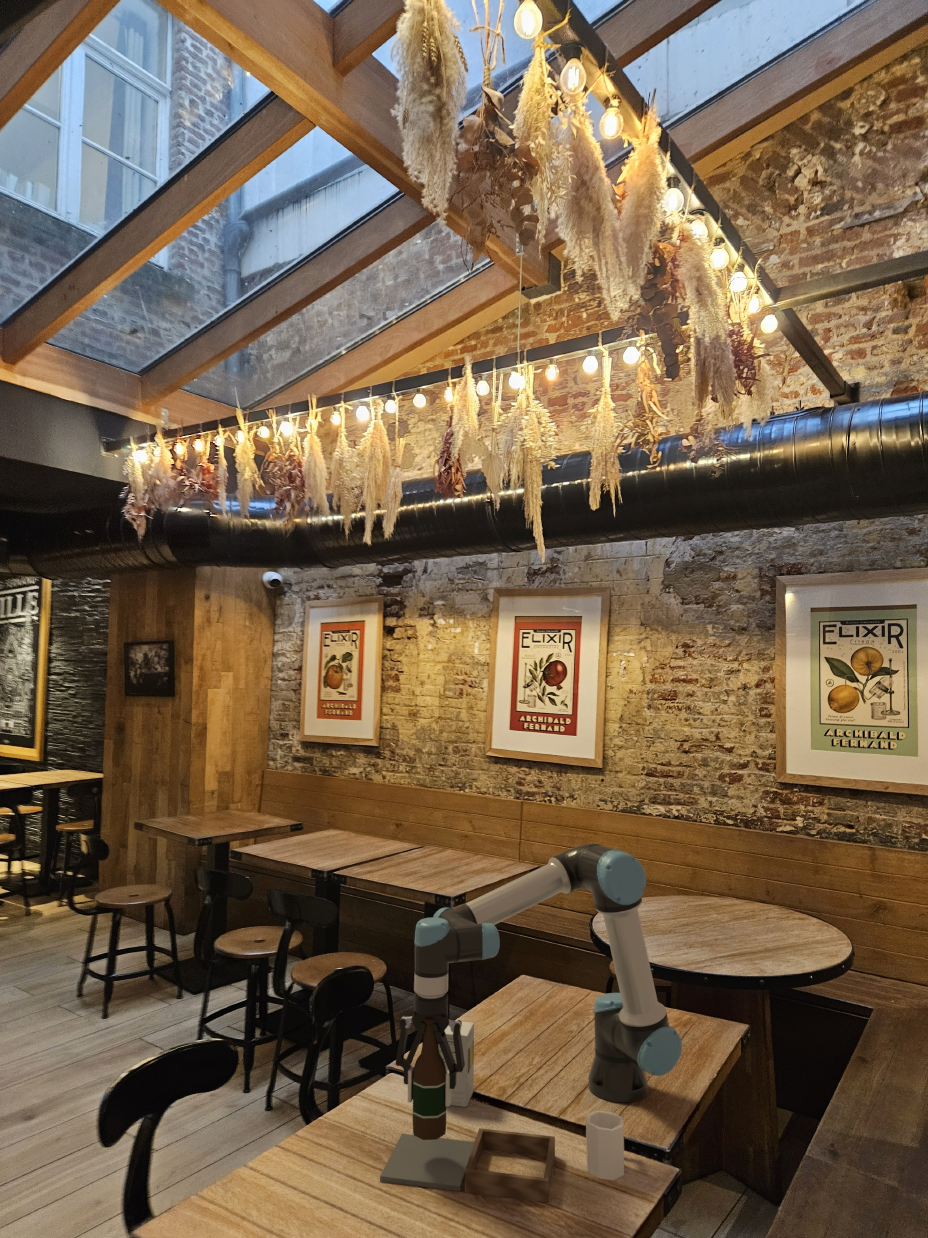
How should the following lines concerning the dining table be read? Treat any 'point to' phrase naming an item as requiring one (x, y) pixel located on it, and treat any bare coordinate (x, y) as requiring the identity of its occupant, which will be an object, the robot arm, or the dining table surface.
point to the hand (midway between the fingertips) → (429, 1101)
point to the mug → (605, 1145)
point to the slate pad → (428, 1162)
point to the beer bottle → (429, 1089)
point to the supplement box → (466, 1077)
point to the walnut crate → (507, 1182)
